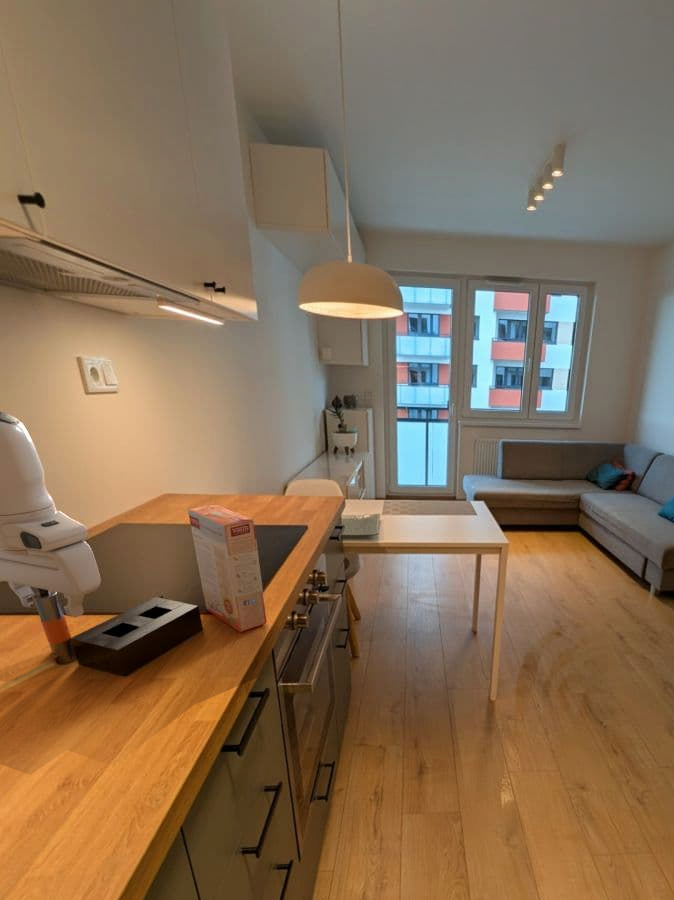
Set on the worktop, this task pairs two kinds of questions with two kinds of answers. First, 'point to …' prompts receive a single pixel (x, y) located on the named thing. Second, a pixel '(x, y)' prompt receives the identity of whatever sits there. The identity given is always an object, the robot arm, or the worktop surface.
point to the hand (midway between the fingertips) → (53, 610)
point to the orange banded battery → (55, 625)
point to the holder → (137, 636)
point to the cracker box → (228, 566)
